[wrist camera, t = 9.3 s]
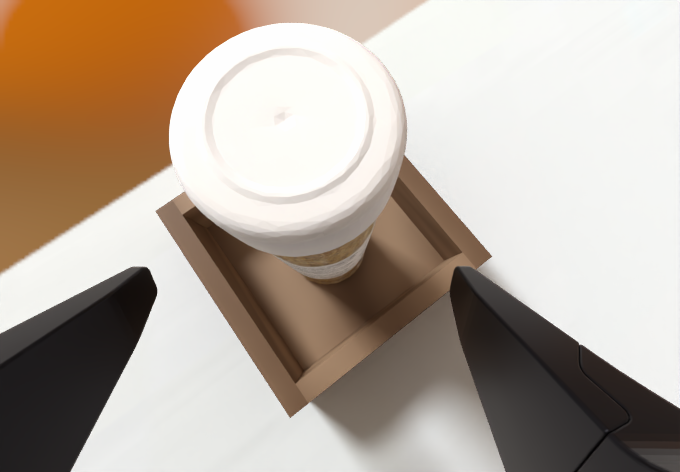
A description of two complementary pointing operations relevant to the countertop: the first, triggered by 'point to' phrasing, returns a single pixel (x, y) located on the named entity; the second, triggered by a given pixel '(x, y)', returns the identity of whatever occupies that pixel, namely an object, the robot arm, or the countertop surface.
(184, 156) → the sprinkles bottle
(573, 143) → the countertop surface
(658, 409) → the robot arm
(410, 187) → the walnut crate
